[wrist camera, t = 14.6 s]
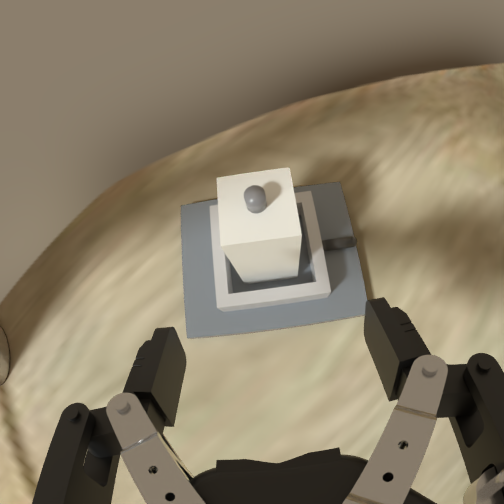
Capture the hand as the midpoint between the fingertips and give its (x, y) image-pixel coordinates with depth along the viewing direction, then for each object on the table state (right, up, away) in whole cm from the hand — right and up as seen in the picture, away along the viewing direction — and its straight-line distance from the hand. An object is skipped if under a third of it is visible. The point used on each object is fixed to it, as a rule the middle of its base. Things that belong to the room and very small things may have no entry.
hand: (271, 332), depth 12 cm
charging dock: (+1, +3, +16) cm, 16 cm away
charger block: (+1, +3, +15) cm, 15 cm away
